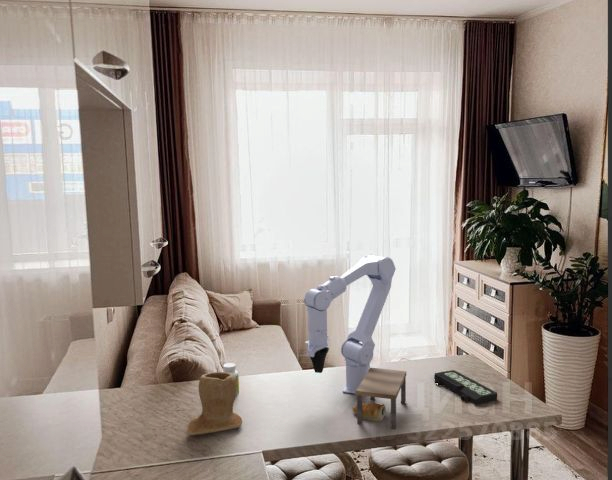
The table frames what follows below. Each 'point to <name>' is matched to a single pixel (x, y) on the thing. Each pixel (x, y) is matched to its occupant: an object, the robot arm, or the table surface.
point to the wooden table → (382, 389)
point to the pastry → (372, 411)
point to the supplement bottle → (231, 369)
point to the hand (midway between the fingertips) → (318, 371)
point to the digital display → (465, 387)
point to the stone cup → (216, 404)
